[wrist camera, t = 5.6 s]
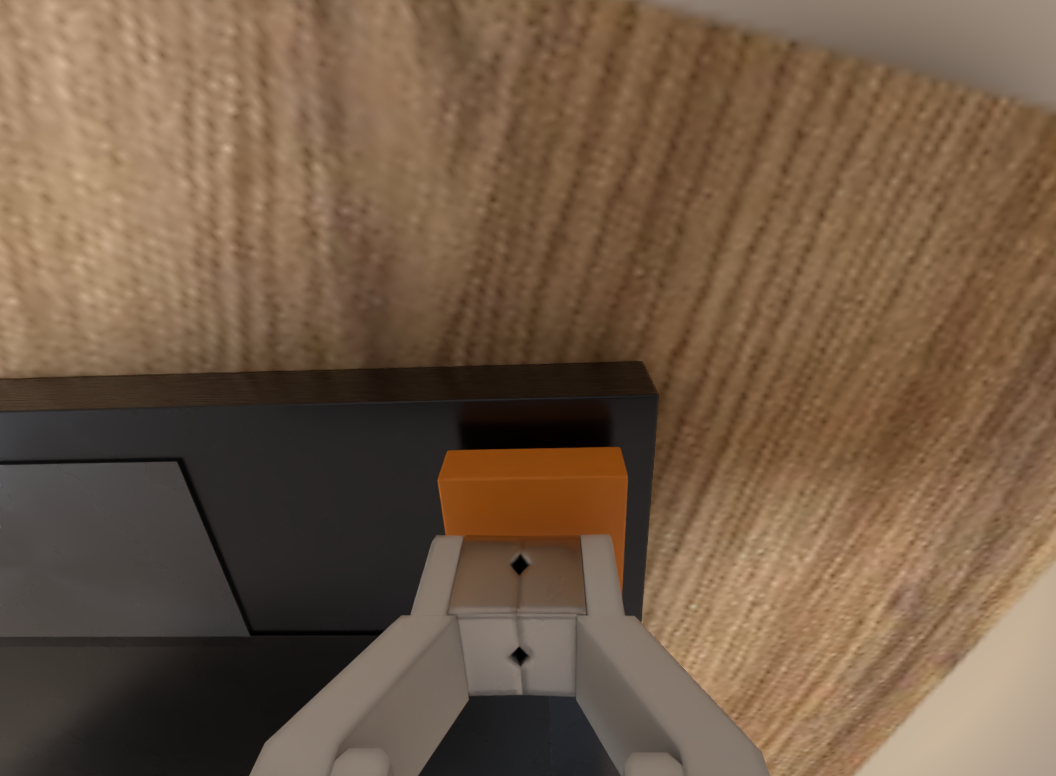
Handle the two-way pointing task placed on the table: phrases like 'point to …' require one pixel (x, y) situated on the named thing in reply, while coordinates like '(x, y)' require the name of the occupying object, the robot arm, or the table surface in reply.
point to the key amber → (536, 493)
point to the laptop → (263, 553)
